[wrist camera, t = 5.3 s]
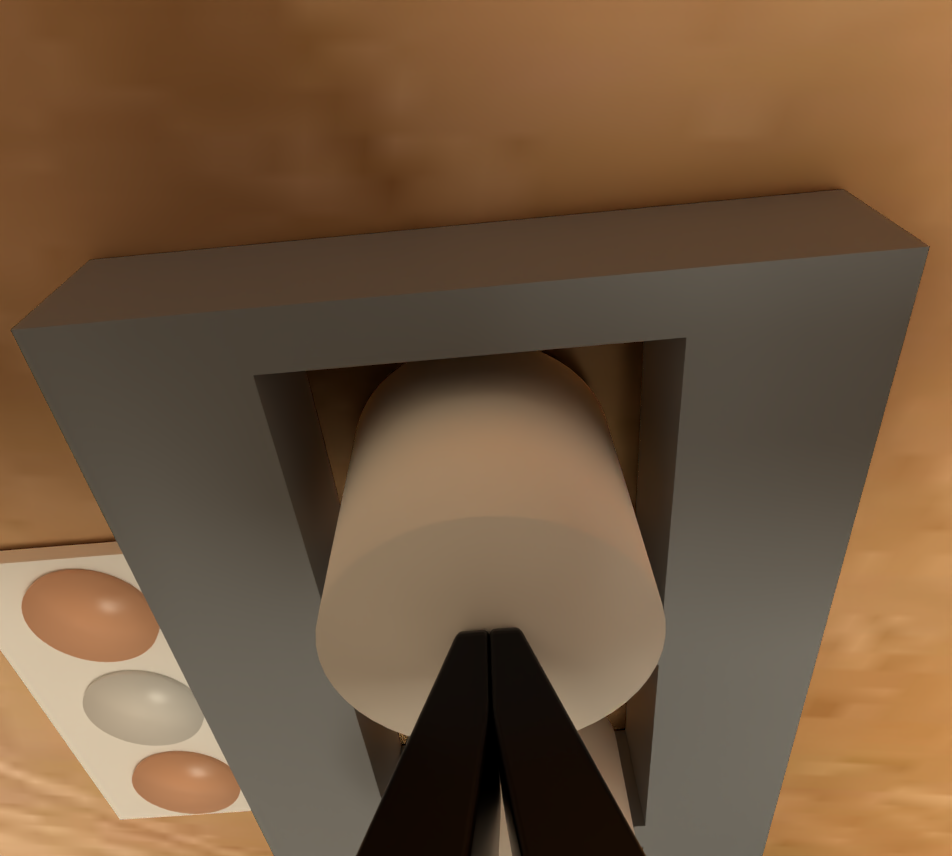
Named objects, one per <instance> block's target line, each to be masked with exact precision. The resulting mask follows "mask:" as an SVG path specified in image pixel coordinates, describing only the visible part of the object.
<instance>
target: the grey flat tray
mask: <svg viewBox="0 0 952 856" xmlns="http://www.w3.org/2000/svg"><path fill="white" fill-rule="evenodd" d="M929 247H930V246H928V245H927V244H925V243H924V242H922V241H921V240H919V239H918V238H916V237H915V236H913V235H912V234H910V233H909V232H907V231H906V230H904V229H903V228H901V227H900V226H898V225H897V224H895V223H894V222H892V221H891V220H889V219H888V218H886V217H885V216H883V215H882V214H880V213H879V212H877V211H876V210H874V209H873V208H871V207H870V206H868V205H867V204H865V203H864V202H862V201H861V200H859V199H858V198H856V197H854V196H853V195H851V194H850V193H848V192H847V191H845V190H844V189H840V190H830V191H819V192H808V193H798V194H787V195H776V196H766V197H755V198H744V199H734V200H723V201H712V202H702V203H691V204H680V205H670V206H659V207H648V208H638V209H627V210H616V211H606V212H595V213H584V214H573V215H563V216H552V217H541V218H531V219H520V220H509V221H499V222H488V223H477V224H467V225H456V226H445V227H435V228H424V229H413V230H403V231H392V232H381V233H371V234H360V235H349V236H339V237H328V238H317V239H307V240H296V241H285V242H275V243H264V244H253V245H243V246H232V247H221V248H211V249H200V250H189V251H179V252H168V253H157V254H147V255H136V256H125V257H115V258H104V259H93V260H89V261H88V262H87V263H86V264H84V265H83V266H82V267H81V268H80V269H79V270H78V271H77V272H75V273H74V274H73V275H72V276H71V277H70V278H69V279H68V280H66V281H65V282H64V283H63V284H62V285H61V286H60V287H59V288H57V289H56V290H55V291H54V292H53V293H52V294H51V295H49V296H48V297H47V298H46V299H45V300H44V301H43V302H42V303H40V304H39V305H38V306H37V307H36V308H35V309H34V310H33V311H31V312H30V313H29V314H28V315H27V316H26V317H25V318H24V319H22V320H21V321H20V322H19V323H18V324H17V325H16V326H14V327H13V328H12V329H11V332H12V334H13V336H14V338H15V340H16V342H17V344H18V346H19V348H20V350H21V352H22V354H23V356H24V358H25V360H26V362H27V364H28V366H29V368H30V370H31V372H32V374H33V376H34V378H35V380H36V382H37V384H38V386H39V388H40V390H41V392H42V394H43V396H44V398H45V400H46V402H47V404H48V406H49V408H50V410H51V411H52V413H53V415H54V417H55V419H56V421H57V423H58V425H59V427H60V429H61V431H62V433H63V435H64V437H65V439H66V441H67V443H68V445H69V447H70V449H71V451H72V453H73V455H74V457H75V459H76V461H77V463H78V465H79V467H80V469H81V471H82V473H83V475H84V477H85V479H86V481H87V483H88V485H89V487H90V489H91V491H92V493H93V495H94V497H95V499H96V501H97V503H98V505H99V507H100V509H101V511H102V513H103V515H104V517H105V519H106V521H107V523H108V525H109V527H110V529H111V531H112V533H113V535H114V537H115V539H116V541H117V543H118V545H119V547H120V549H121V551H122V553H123V555H124V557H125V559H126V561H127V563H128V565H129V567H130V569H131V571H132V573H133V575H134V577H135V579H136V581H137V583H138V585H139V587H140V589H141V591H142V593H143V595H144V597H145V599H146V601H147V603H148V605H149V607H150V609H151V611H152V613H153V615H154V617H155V619H156V621H157V623H158V625H159V627H160V629H161V631H162V633H163V635H164V637H165V639H166V641H167V643H168V645H169V647H170V649H171V651H172V653H173V655H174V657H175V659H176V661H177V663H178V665H179V667H180V669H181V671H182V673H183V675H184V677H185V679H186V681H187V683H188V685H189V687H190V689H191V691H192V693H193V695H194V697H195V699H196V701H197V703H198V705H199V707H200V709H201V711H202V713H203V715H204V717H205V719H206V721H207V723H208V725H209V727H210V729H211V731H212V733H213V735H214V737H215V739H216V741H217V743H218V745H219V747H220V749H221V751H222V753H223V755H224V757H225V759H226V761H227V763H228V765H229V767H230V769H231V771H232V773H233V775H234V777H235V779H236V781H237V783H238V785H239V787H240V789H241V791H242V793H243V795H244V797H245V799H246V801H247V803H248V805H249V807H250V809H251V811H252V813H253V815H254V817H255V819H256V821H257V823H258V825H259V827H260V829H261V831H262V833H263V835H264V837H265V839H266V841H267V843H268V845H269V847H270V849H271V851H272V853H273V855H274V856H356V854H357V852H358V849H359V847H360V845H361V843H362V841H363V838H364V836H365V834H366V832H367V830H368V827H369V825H370V823H371V821H372V819H373V816H374V814H375V812H376V810H377V808H378V805H379V803H380V801H381V799H382V797H383V794H384V792H385V790H386V788H387V786H388V783H389V781H390V779H391V777H392V775H393V772H394V770H395V768H396V766H397V764H398V761H399V759H400V757H401V755H402V753H403V750H404V748H405V746H401V743H400V739H399V735H398V732H396V731H394V730H391V729H388V728H386V727H385V726H383V725H381V724H379V723H377V722H375V721H373V720H371V719H370V718H368V717H367V716H365V715H364V714H362V713H361V712H359V711H358V710H356V709H355V708H354V707H353V706H352V705H350V704H349V703H348V702H347V701H346V700H345V699H344V698H343V697H342V696H341V695H340V694H339V693H338V692H337V690H336V689H335V688H334V687H333V685H332V684H331V682H330V681H329V679H328V678H327V676H326V675H325V673H324V670H323V668H322V666H321V663H320V661H319V657H318V653H317V648H316V631H315V630H316V624H317V619H318V613H319V608H320V604H321V599H322V594H323V589H324V584H325V579H326V575H327V570H328V565H329V560H330V555H331V550H332V545H333V541H334V536H335V531H336V526H337V521H338V516H339V511H340V503H339V499H338V495H337V491H336V487H335V483H334V479H333V475H332V471H331V467H330V464H329V460H328V456H327V452H326V448H325V444H324V440H323V436H322V432H321V428H320V424H319V420H318V416H317V412H316V409H315V405H314V401H313V397H312V393H311V389H310V385H309V381H308V377H307V373H306V371H309V370H320V369H332V368H343V367H354V366H366V365H377V364H389V363H400V362H411V361H423V360H434V359H446V358H457V357H469V356H480V355H491V354H503V353H514V352H526V351H537V350H549V349H560V348H571V347H583V346H594V345H606V344H617V343H628V342H640V341H644V346H643V367H642V388H641V409H640V431H639V452H638V473H637V494H636V515H635V516H636V519H637V522H638V526H639V529H640V532H641V536H642V539H643V542H644V546H645V549H646V552H647V555H648V559H649V562H650V565H651V569H652V572H653V575H654V579H655V582H656V585H657V588H658V592H659V595H660V598H661V602H662V605H663V610H664V615H665V619H666V635H665V641H664V646H663V651H662V653H661V656H660V658H659V661H658V663H657V665H656V667H655V669H654V670H653V672H652V674H651V675H650V677H649V678H648V680H647V681H646V682H645V683H644V685H643V686H642V687H641V688H640V690H639V691H638V692H637V693H635V694H634V695H633V696H632V697H631V698H630V699H629V700H628V701H627V704H626V725H625V730H621V731H614V733H615V736H616V741H617V746H618V751H619V756H620V761H621V767H622V772H623V777H624V782H625V787H626V792H627V797H628V802H629V808H630V813H631V818H632V823H633V828H634V833H635V836H636V838H637V840H638V842H639V844H640V846H641V847H642V849H643V851H644V853H645V855H646V856H762V855H763V852H764V848H765V844H766V841H767V837H768V833H769V830H770V826H771V822H772V819H773V815H774V811H775V808H776V804H777V801H778V797H779V793H780V790H781V786H782V782H783V779H784V775H785V771H786V768H787V764H788V761H789V757H790V753H791V750H792V746H793V742H794V739H795V735H796V731H797V728H798V724H799V720H800V717H801V713H802V710H803V706H804V702H805V699H806V695H807V691H808V688H809V684H810V680H811V677H812V673H813V669H814V666H815V662H816V659H817V655H818V651H819V648H820V644H821V640H822V637H823V633H824V629H825V626H826V622H827V619H828V615H829V611H830V608H831V604H832V600H833V597H834V593H835V589H836V586H837V582H838V578H839V575H840V571H841V568H842V564H843V560H844V557H845V553H846V549H847V546H848V542H849V538H850V535H851V531H852V528H853V524H854V520H855V517H856V513H857V509H858V506H859V502H860V498H861V495H862V491H863V487H864V484H865V480H866V477H867V473H868V469H869V466H870V462H871V458H872V455H873V451H874V447H875V444H876V440H877V436H878V433H879V429H880V426H881V422H882V418H883V415H884V411H885V407H886V404H887V400H888V396H889V393H890V389H891V386H892V382H893V378H894V375H895V371H896V367H897V364H898V360H899V356H900V353H901V349H902V345H903V342H904V338H905V335H906V331H907V327H908V324H909V320H910V316H911V313H912V309H913V305H914V302H915V298H916V294H917V291H918V287H919V284H920V280H921V276H922V273H923V269H924V265H925V262H926V258H927V254H928V251H929Z"/></svg>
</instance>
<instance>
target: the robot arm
mask: <svg viewBox="0 0 952 856" xmlns="http://www.w3.org/2000/svg"><path fill="white" fill-rule="evenodd" d="M501 791H502V799H503V805H504V812H505V819H506V824H507V830H508V835H509V841H510V847H511V852H512V856H646V855H645V853H644V851H643V849H642V847H641V846H640V844H639V842H638V840H637V838H636V836H635V835H634V833H633V831H632V829H631V827H630V826H629V824H628V822H627V820H626V818H625V817H624V815H623V813H622V811H621V809H620V807H619V806H618V804H617V802H616V800H615V798H614V797H613V795H612V793H611V791H610V789H609V788H608V786H607V784H606V782H605V780H604V778H603V777H602V775H601V773H600V771H599V769H598V768H597V766H596V764H595V762H594V760H593V759H592V757H591V755H590V753H589V751H588V749H587V748H586V746H585V744H584V742H583V740H582V739H581V737H580V735H579V733H578V731H577V730H576V728H575V726H574V724H573V722H572V720H571V719H570V717H569V715H568V713H567V711H566V710H565V708H564V706H563V704H562V702H561V701H560V699H559V697H558V695H557V693H556V691H555V690H554V688H553V686H552V684H551V682H550V681H549V679H548V677H547V675H546V673H545V672H544V670H543V668H542V666H541V664H540V662H539V661H538V659H537V657H536V655H535V653H534V652H533V650H532V648H531V646H530V644H529V643H528V641H527V639H526V637H525V635H524V634H523V632H522V631H521V630H520V629H519V628H517V627H511V628H497V629H493V630H491V631H490V633H488V632H487V631H486V630H470V631H461V632H459V633H458V634H457V635H456V636H455V638H454V640H453V642H452V645H451V647H450V649H449V651H448V653H447V656H446V658H445V660H444V662H443V664H442V667H441V669H440V671H439V673H438V675H437V678H436V680H435V682H434V684H433V686H432V689H431V691H430V693H429V695H428V697H427V700H426V702H425V704H424V706H423V708H422V711H421V713H420V715H419V717H418V720H417V722H416V724H415V726H414V728H413V731H412V733H411V735H410V737H409V739H408V742H407V744H406V746H405V748H404V750H403V753H402V755H401V757H400V759H399V761H398V764H397V766H396V768H395V770H394V772H393V775H392V777H391V779H390V781H389V783H388V786H387V788H386V790H385V792H384V794H383V797H382V799H381V801H380V803H379V805H378V808H377V810H376V812H375V814H374V816H373V819H372V821H371V823H370V825H369V827H368V830H367V832H366V834H365V836H364V838H363V841H362V843H361V845H360V847H359V849H358V852H357V854H356V856H499V839H500V820H501Z"/></svg>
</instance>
